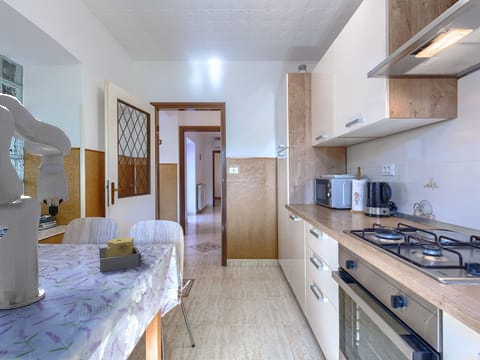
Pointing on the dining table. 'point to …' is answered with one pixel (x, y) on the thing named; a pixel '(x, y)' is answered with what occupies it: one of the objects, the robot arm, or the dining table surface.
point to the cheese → (120, 247)
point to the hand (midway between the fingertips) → (53, 215)
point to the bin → (118, 260)
